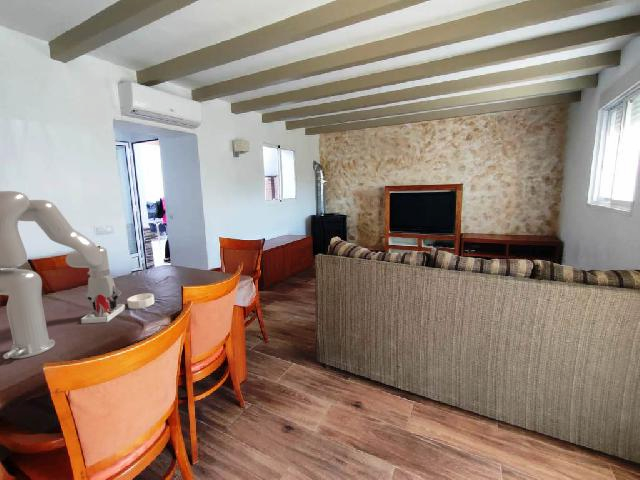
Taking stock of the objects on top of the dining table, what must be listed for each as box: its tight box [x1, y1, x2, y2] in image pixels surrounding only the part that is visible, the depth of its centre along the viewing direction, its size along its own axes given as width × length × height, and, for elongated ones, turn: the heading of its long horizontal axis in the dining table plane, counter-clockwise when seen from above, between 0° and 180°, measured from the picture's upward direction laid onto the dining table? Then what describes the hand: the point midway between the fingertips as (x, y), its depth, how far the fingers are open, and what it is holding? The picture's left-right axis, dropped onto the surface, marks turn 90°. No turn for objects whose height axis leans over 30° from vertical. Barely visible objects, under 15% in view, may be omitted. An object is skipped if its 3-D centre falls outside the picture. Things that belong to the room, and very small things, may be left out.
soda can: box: [95, 293, 114, 317], centre depth 144 cm, size 7×7×12 cm
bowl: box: [126, 292, 155, 310], centre depth 158 cm, size 12×12×4 cm
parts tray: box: [80, 303, 126, 325], centre depth 144 cm, size 16×11×2 cm
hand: (105, 308), depth 145 cm, fingers closed on soda can, 7 cm apart
